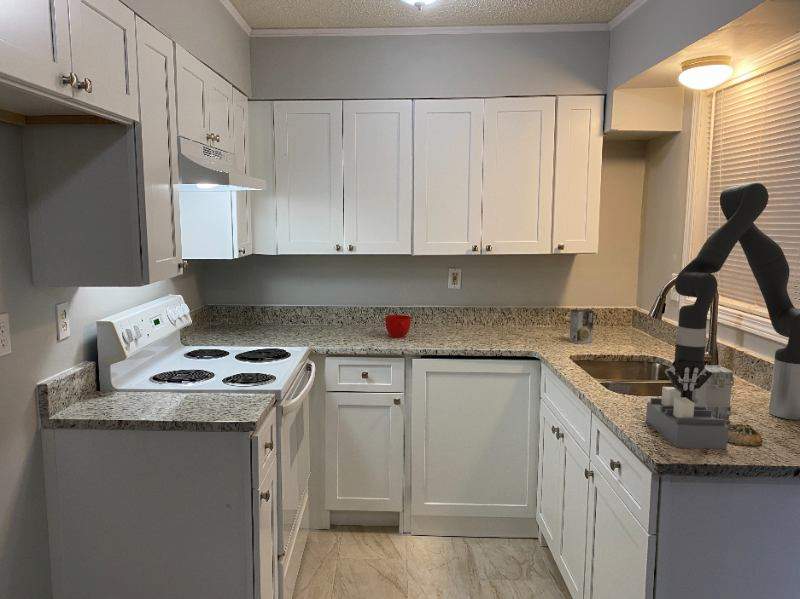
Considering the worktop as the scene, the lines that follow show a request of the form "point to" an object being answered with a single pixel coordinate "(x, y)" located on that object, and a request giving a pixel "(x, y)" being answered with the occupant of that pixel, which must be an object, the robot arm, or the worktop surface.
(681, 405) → the breaker
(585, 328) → the coffee box
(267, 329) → the worktop surface
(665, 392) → the block
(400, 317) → the ceramic cup
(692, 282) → the robot arm
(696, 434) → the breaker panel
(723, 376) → the circuit breaker
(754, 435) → the bread roll
